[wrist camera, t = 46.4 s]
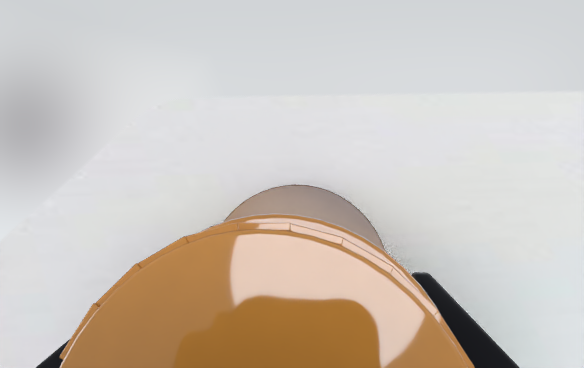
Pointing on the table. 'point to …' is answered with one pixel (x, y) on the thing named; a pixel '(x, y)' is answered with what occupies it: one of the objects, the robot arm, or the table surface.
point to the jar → (266, 305)
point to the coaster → (309, 208)
